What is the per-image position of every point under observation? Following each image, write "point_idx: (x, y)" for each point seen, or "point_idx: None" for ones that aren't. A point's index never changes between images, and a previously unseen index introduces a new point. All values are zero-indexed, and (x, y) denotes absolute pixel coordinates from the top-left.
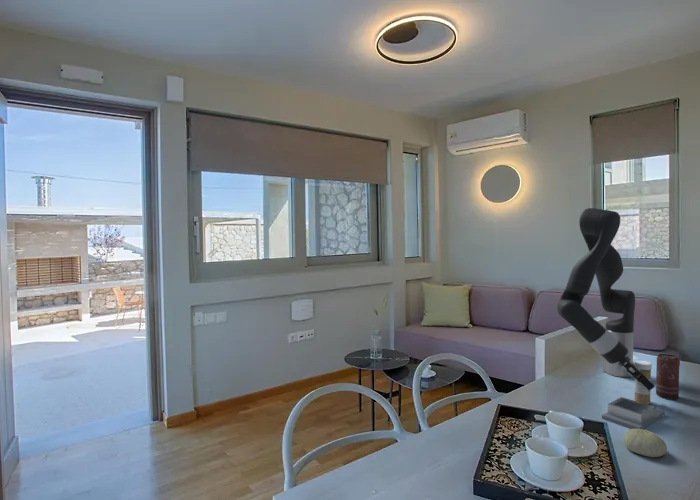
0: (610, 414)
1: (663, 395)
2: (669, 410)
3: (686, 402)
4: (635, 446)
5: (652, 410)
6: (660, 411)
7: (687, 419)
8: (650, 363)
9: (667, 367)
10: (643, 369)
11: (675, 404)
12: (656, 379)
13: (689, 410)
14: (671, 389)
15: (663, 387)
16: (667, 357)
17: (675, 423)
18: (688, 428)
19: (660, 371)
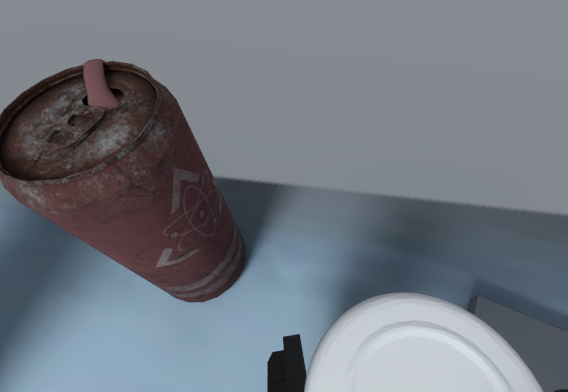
0: None
1: (238, 273)
2: (392, 272)
3: (250, 201)
4: None
5: None
6: (493, 315)
7: (455, 221)
8: (423, 303)
9: (193, 176)
10: None
11: (296, 240)
12: (164, 281)
13: (340, 203)
14: (235, 228)
15: (227, 260)
16: (97, 122)
17: (548, 269)
18: (562, 230)
19: (182, 237)
